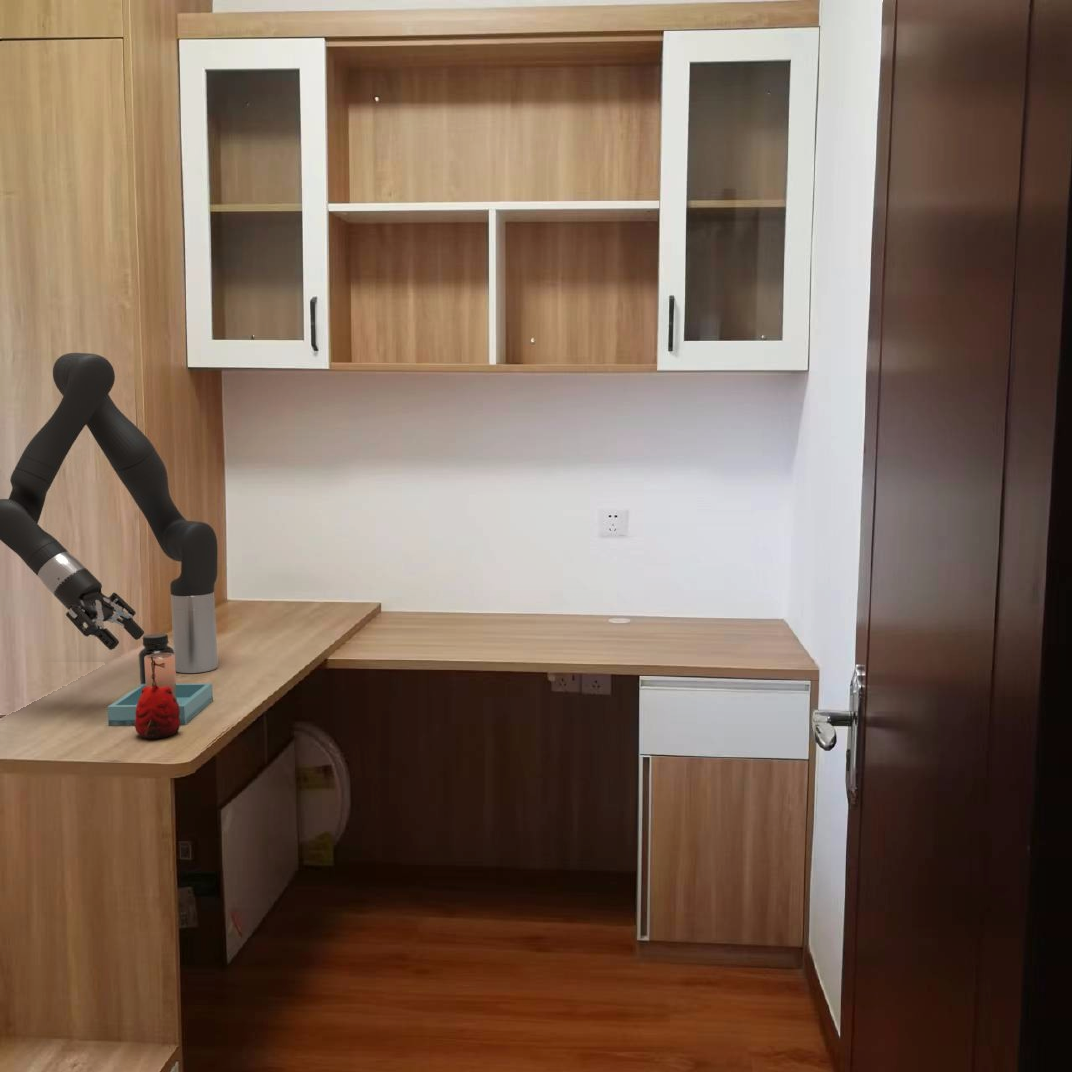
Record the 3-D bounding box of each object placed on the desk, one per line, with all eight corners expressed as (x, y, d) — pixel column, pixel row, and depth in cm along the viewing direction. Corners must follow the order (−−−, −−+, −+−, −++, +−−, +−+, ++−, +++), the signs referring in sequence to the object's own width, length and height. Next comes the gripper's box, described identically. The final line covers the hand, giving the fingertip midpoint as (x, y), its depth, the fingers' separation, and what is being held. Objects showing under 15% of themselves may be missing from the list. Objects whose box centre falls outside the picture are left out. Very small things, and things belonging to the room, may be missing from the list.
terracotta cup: (153, 703, 195) (151, 652, 194) (181, 703, 195) (178, 652, 194) (142, 711, 190) (139, 659, 188) (170, 711, 189) (168, 659, 188)
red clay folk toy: (184, 728, 182) (180, 647, 181) (176, 740, 176) (171, 656, 174) (140, 730, 181) (135, 648, 180) (130, 742, 174) (125, 658, 173)
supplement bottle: (181, 688, 210) (178, 631, 208) (170, 697, 203) (167, 638, 202) (147, 688, 210) (144, 632, 208) (135, 697, 203) (132, 639, 201)
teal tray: (142, 701, 200) (141, 683, 200) (212, 700, 200) (212, 683, 200) (108, 725, 184) (107, 706, 184) (185, 724, 184) (184, 706, 184)
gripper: (57, 573, 185) (119, 636, 184) (103, 562, 199) (160, 620, 198) (33, 601, 186) (94, 663, 186) (80, 588, 200) (137, 646, 200)
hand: (128, 641), depth 192 cm, fingers open, 8 cm apart
